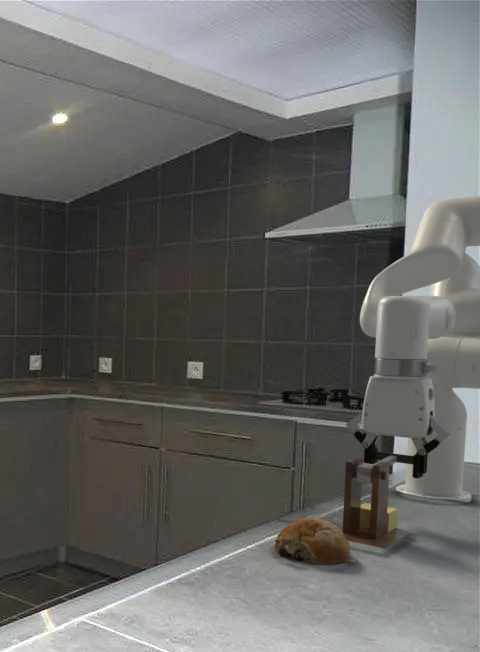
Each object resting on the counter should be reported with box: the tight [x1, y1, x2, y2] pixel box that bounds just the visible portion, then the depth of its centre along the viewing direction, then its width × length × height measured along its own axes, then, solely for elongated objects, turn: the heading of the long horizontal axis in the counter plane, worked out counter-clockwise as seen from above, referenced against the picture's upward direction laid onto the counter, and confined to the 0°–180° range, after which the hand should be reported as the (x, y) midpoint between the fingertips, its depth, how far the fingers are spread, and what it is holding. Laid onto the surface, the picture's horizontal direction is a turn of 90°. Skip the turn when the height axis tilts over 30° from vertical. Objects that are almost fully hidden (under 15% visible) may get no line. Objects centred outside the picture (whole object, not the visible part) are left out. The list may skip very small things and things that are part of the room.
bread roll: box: [274, 517, 352, 566], centre depth 105 cm, size 10×10×8 cm
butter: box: [359, 502, 399, 532], centre depth 118 cm, size 4×5×3 cm
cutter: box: [334, 457, 412, 550], centre depth 115 cm, size 12×10×13 cm
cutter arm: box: [356, 450, 414, 484], centre depth 118 cm, size 15×6×2 cm, turn 131°
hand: (394, 472), depth 122 cm, fingers open, 6 cm apart
